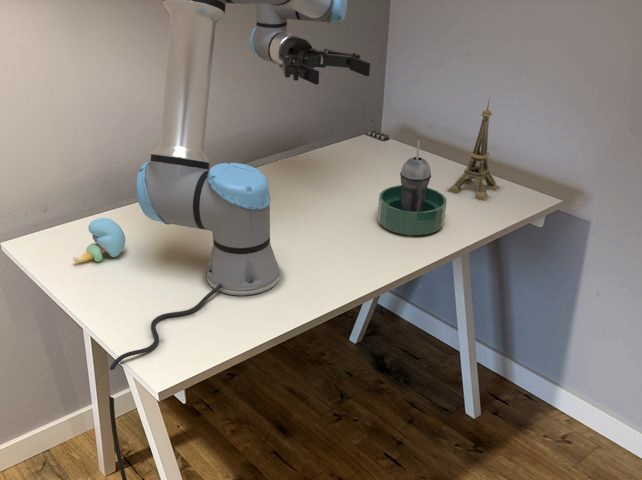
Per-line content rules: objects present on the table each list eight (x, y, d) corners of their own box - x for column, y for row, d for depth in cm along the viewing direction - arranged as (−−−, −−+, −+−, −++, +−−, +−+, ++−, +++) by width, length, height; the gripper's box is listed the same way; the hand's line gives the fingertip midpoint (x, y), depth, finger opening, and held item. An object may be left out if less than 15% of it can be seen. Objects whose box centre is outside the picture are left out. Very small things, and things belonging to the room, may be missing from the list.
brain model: (58, 225, 143) (110, 207, 149) (69, 261, 149) (119, 243, 154) (71, 238, 139) (125, 219, 144) (82, 274, 144) (133, 255, 150)
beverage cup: (427, 215, 167) (437, 135, 155) (423, 228, 162) (433, 146, 150) (398, 211, 169) (406, 132, 157) (393, 224, 163) (401, 142, 151)
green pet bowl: (430, 243, 157) (433, 218, 153) (367, 228, 163) (368, 203, 159) (451, 217, 169) (455, 192, 165) (391, 204, 174) (393, 180, 170)
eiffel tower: (499, 187, 184) (517, 93, 169) (484, 200, 177) (502, 103, 162) (463, 178, 189) (478, 85, 174) (447, 191, 182) (461, 95, 167)
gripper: (334, 63, 170) (386, 83, 155) (247, 76, 159) (294, 99, 144) (335, 30, 165) (389, 48, 151) (245, 41, 154) (295, 62, 140)
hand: (343, 73), depth 148 cm, fingers open, 13 cm apart
